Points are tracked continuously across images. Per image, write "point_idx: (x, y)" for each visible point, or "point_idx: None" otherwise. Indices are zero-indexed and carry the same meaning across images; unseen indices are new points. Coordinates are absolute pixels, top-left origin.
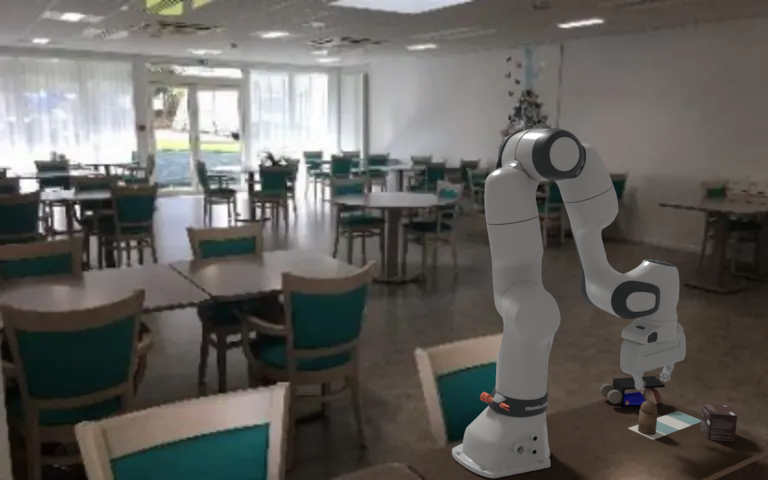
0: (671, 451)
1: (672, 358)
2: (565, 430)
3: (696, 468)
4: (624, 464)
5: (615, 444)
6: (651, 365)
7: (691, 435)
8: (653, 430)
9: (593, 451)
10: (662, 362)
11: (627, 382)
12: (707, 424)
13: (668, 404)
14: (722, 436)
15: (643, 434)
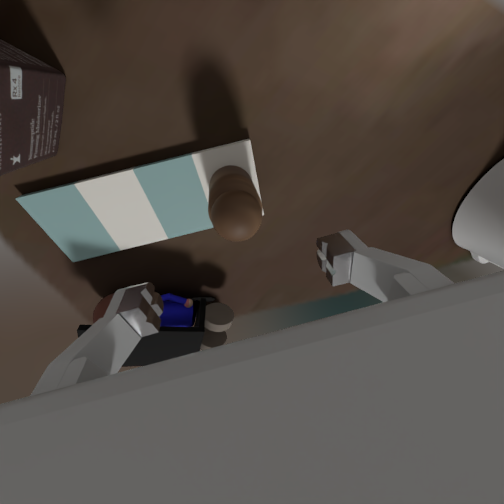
0: (236, 65)
1: (44, 448)
2: (369, 244)
3: None
4: (423, 46)
5: (340, 163)
6: (401, 344)
7: (101, 141)
8: (230, 168)
9: (412, 148)
10: (219, 389)
11: (175, 349)
12: (26, 93)
13: (76, 296)
14: None
15: (253, 175)
